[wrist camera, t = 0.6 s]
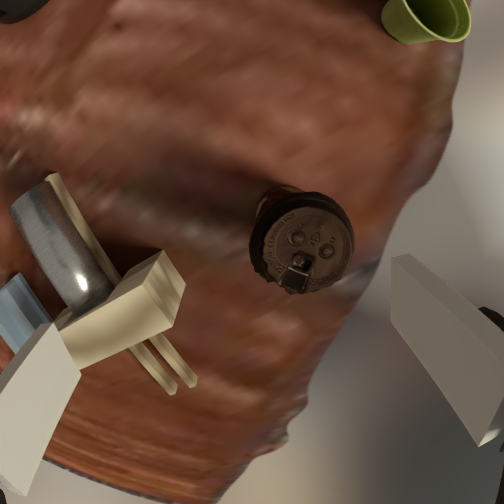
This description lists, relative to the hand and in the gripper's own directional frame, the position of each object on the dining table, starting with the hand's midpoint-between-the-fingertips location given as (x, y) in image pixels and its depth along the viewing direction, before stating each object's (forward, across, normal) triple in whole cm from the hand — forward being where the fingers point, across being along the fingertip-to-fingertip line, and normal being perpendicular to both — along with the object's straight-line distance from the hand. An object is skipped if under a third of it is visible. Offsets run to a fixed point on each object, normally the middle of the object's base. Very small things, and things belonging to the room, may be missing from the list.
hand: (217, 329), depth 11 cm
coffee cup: (+26, +6, -3) cm, 27 cm away
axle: (+21, -19, -3) cm, 28 cm away
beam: (+26, -16, -10) cm, 32 cm away
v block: (+26, -34, -11) cm, 44 cm away
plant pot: (+26, +25, +18) cm, 41 cm away
